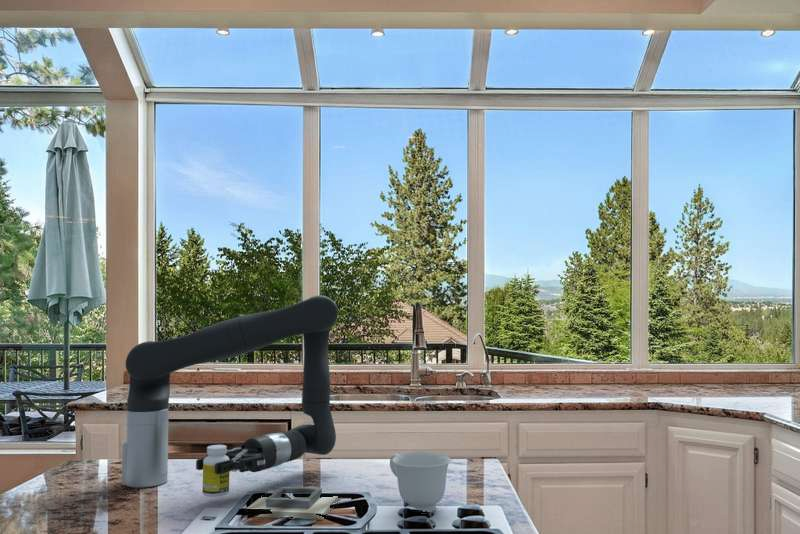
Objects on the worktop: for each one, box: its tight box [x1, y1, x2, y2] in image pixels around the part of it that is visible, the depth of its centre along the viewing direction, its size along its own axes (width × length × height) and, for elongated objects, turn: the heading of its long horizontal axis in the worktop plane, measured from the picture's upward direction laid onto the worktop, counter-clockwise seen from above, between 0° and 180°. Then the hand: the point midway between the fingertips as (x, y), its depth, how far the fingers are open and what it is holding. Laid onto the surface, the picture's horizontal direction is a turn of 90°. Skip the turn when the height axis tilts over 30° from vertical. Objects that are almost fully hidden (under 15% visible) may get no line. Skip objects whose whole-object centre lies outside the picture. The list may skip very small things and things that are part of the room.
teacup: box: [389, 451, 452, 513], centre depth 129 cm, size 12×15×10 cm
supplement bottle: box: [202, 444, 230, 498], centre depth 133 cm, size 5×5×10 cm
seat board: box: [246, 486, 341, 521], centre depth 130 cm, size 16×14×3 cm
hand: (206, 467), depth 131 cm, fingers closed on supplement bottle, 5 cm apart
